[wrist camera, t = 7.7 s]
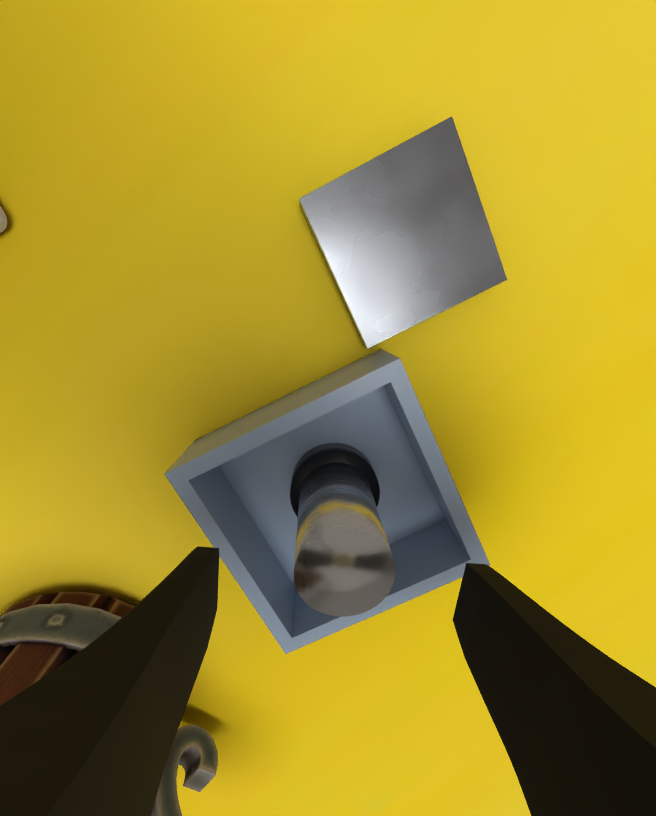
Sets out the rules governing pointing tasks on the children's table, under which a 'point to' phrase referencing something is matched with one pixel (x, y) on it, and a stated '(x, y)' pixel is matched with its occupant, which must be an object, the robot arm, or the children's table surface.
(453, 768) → the children's table surface
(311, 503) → the strut
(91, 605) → the mug
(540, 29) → the children's table surface
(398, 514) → the bin
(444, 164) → the grey metal square plate
